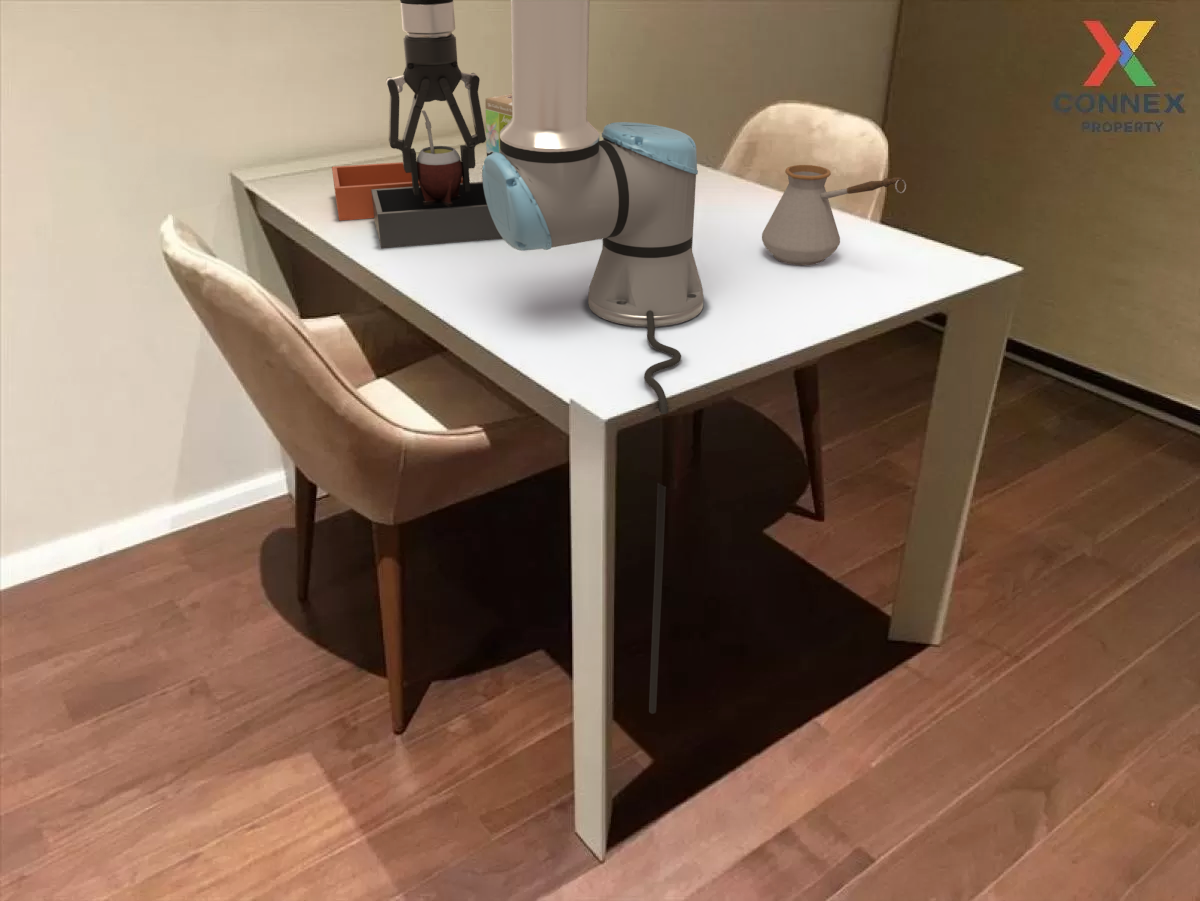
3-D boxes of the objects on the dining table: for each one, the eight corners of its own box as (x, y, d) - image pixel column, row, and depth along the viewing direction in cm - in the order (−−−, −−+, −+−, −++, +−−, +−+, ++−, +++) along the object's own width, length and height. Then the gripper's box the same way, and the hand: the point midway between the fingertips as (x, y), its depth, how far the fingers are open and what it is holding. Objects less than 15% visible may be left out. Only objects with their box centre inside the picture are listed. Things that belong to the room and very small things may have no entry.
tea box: (524, 193, 182) (522, 106, 175) (486, 181, 188) (482, 97, 180) (583, 175, 192) (583, 92, 184) (545, 165, 198) (543, 84, 190)
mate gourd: (452, 192, 167) (445, 95, 160) (474, 204, 161) (468, 104, 154) (409, 200, 164) (400, 101, 156) (431, 212, 158) (422, 110, 150)
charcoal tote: (515, 237, 162) (514, 204, 159) (381, 248, 157) (377, 214, 155) (500, 212, 173) (499, 180, 170) (374, 221, 168) (371, 189, 165)
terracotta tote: (465, 211, 173) (463, 179, 170) (339, 220, 169) (335, 188, 166) (454, 189, 184) (452, 158, 181) (335, 197, 179) (331, 166, 177)
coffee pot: (744, 255, 155) (752, 154, 148) (792, 238, 162) (802, 141, 155) (864, 295, 142) (879, 187, 134) (910, 275, 149) (928, 170, 141)
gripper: (493, 27, 156) (500, 180, 167) (357, 32, 151) (374, 189, 163) (502, 34, 149) (509, 193, 161) (360, 40, 145) (378, 202, 156)
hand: (441, 191), depth 162 cm, fingers closed on mate gourd, 7 cm apart
